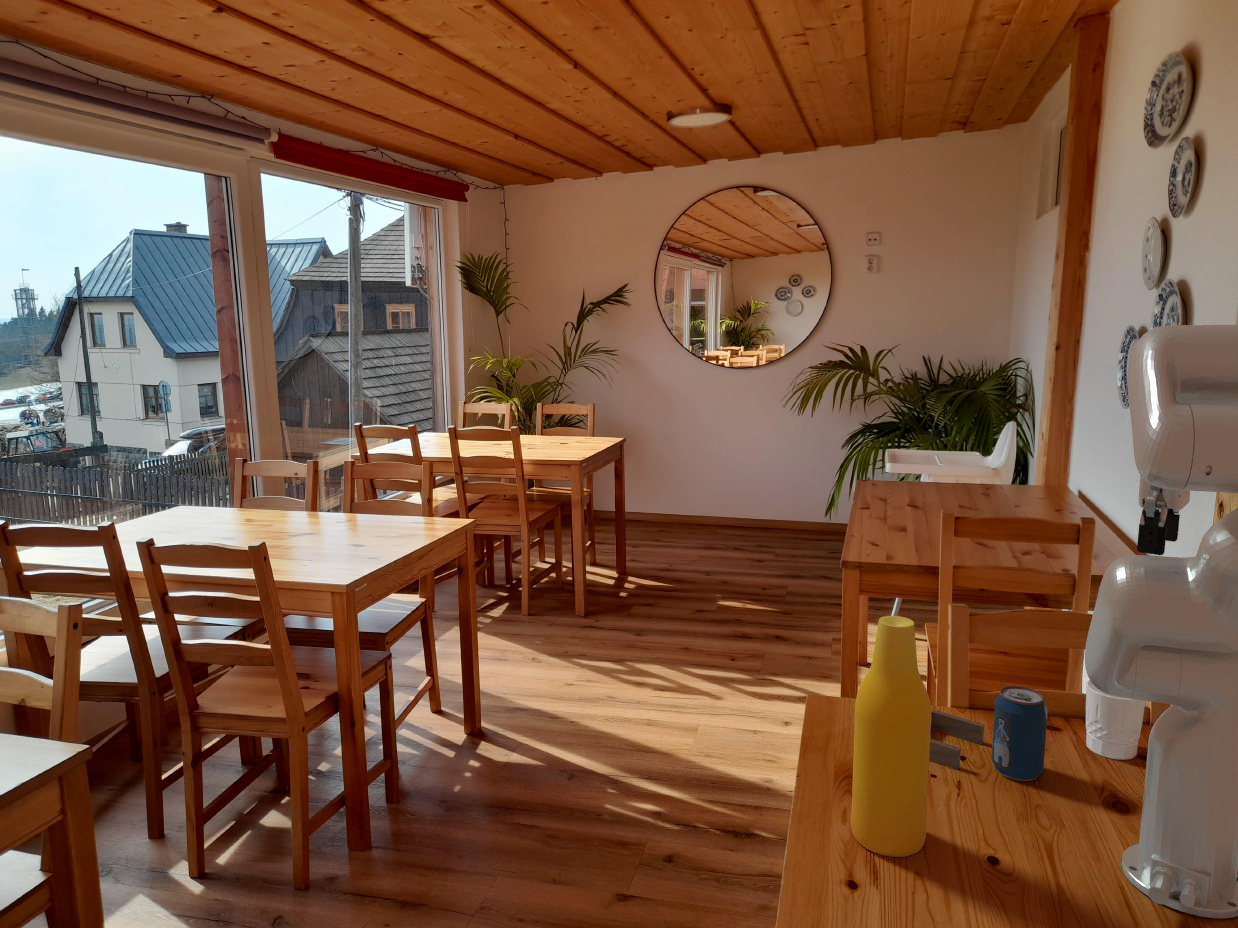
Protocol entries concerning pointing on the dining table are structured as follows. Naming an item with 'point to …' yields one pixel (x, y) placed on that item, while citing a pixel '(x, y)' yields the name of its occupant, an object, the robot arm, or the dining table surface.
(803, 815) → the dining table surface
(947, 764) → the gray u-shaped bracket
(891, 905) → the dining table surface
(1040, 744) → the soda can
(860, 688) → the yellow bottle
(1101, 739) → the white cup
